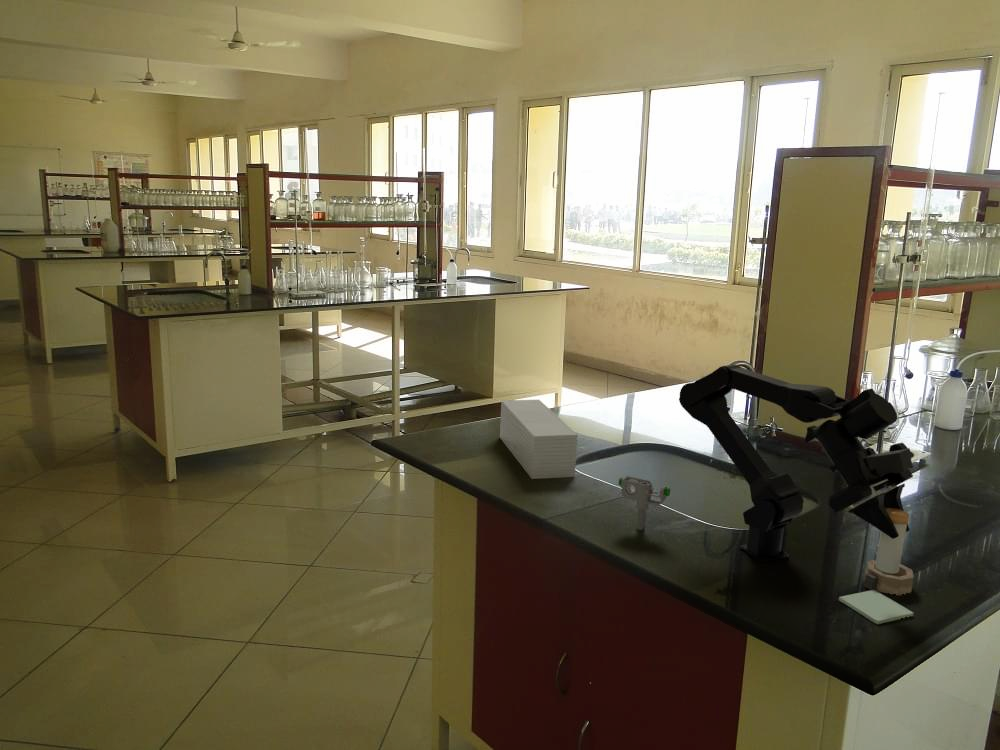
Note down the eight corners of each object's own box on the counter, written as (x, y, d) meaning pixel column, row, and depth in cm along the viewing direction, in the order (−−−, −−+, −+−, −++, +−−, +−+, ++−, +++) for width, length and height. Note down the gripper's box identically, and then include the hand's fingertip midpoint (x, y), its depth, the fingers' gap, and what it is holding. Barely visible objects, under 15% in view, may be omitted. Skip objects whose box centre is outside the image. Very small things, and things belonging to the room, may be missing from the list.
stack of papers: (499, 438, 213) (501, 400, 210) (537, 436, 215) (539, 399, 213) (531, 479, 183) (534, 436, 180) (574, 477, 185) (577, 434, 183)
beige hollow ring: (884, 598, 133) (887, 582, 132) (851, 579, 140) (853, 563, 139) (919, 591, 136) (922, 575, 136) (886, 572, 143) (888, 557, 142)
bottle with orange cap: (880, 573, 128) (890, 516, 126) (870, 562, 132) (879, 507, 130) (903, 574, 128) (913, 517, 126) (892, 563, 132) (902, 508, 130)
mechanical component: (662, 537, 154) (667, 489, 152) (614, 525, 159) (617, 478, 156) (667, 532, 156) (671, 485, 154) (619, 520, 161) (622, 474, 159)
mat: (876, 624, 125) (877, 620, 125) (838, 600, 132) (839, 596, 132) (913, 616, 128) (913, 612, 128) (873, 592, 135) (874, 589, 135)
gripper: (857, 438, 122) (918, 528, 116) (909, 420, 133) (967, 501, 128) (804, 470, 129) (859, 556, 124) (858, 451, 141) (910, 529, 135)
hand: (901, 534), depth 127 cm, fingers closed on bottle with orange cap, 4 cm apart
